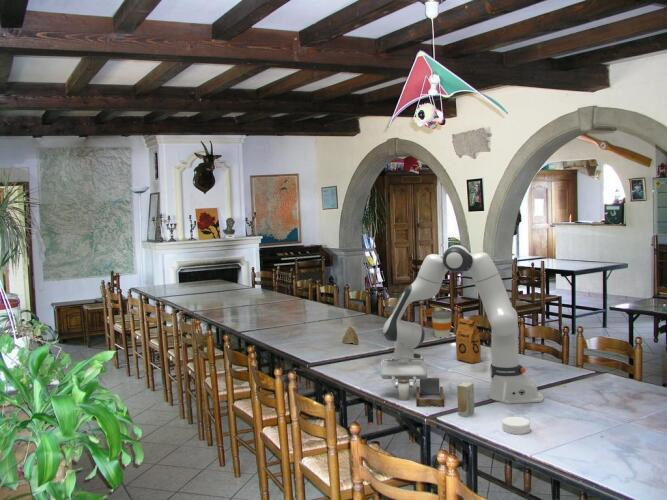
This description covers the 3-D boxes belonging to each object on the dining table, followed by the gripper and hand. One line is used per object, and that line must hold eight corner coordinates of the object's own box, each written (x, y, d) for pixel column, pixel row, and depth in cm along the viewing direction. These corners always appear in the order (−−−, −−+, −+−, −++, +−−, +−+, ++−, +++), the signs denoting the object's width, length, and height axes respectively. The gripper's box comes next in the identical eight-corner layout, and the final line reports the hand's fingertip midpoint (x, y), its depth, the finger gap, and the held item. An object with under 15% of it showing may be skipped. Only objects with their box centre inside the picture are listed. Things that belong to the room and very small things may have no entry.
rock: (363, 340, 390) (358, 335, 399) (355, 330, 387) (350, 325, 396) (349, 352, 389) (344, 346, 398) (341, 342, 386) (336, 336, 395)
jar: (410, 397, 283) (409, 377, 283) (409, 400, 279) (408, 381, 278) (399, 397, 284) (398, 378, 283) (398, 400, 279) (397, 381, 279)
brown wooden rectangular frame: (442, 393, 287) (442, 386, 287) (444, 406, 269) (444, 399, 269) (416, 393, 289) (416, 386, 288) (416, 406, 271) (416, 399, 270)
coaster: (534, 434, 236) (534, 424, 235) (507, 435, 235) (507, 426, 234) (524, 424, 245) (524, 415, 245) (498, 426, 245) (498, 417, 244)
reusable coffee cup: (431, 338, 398) (431, 314, 397) (432, 334, 410) (431, 310, 409) (452, 338, 396) (452, 314, 395) (452, 334, 408) (451, 310, 407)
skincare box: (465, 410, 263) (464, 381, 262) (474, 412, 260) (474, 382, 259) (457, 415, 258) (456, 384, 257) (467, 417, 255) (466, 386, 254)
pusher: (439, 390, 290) (438, 375, 290) (439, 394, 285) (439, 378, 285) (420, 390, 291) (419, 375, 291) (420, 394, 286) (419, 378, 286)
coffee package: (469, 364, 333) (468, 322, 332) (453, 360, 344) (452, 319, 342) (484, 361, 338) (483, 320, 337) (468, 357, 349) (467, 316, 347)
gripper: (380, 355, 288) (379, 383, 279) (426, 355, 286) (427, 383, 277) (381, 362, 293) (380, 390, 284) (426, 362, 290) (427, 390, 281)
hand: (404, 387), depth 280 cm, fingers open, 5 cm apart
